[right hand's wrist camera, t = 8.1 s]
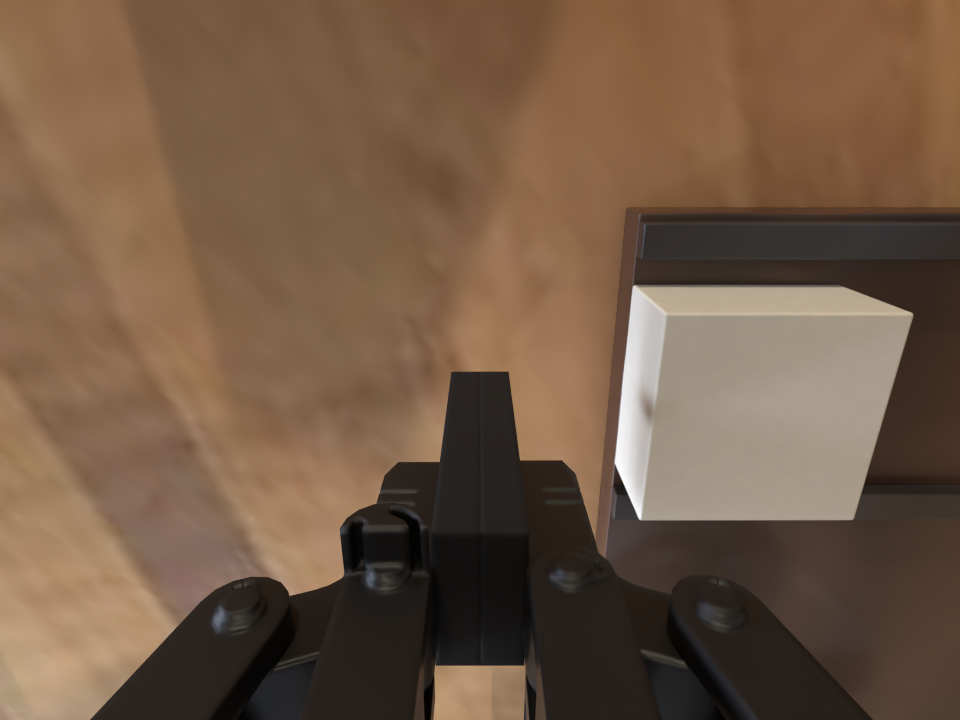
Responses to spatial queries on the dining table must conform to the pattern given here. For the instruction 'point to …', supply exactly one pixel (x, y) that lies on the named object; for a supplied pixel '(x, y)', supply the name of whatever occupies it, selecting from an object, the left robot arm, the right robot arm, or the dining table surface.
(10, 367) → the dining table surface
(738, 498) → the slider
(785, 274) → the slider board
